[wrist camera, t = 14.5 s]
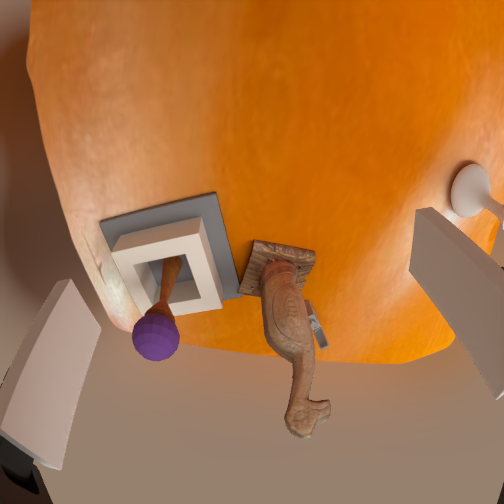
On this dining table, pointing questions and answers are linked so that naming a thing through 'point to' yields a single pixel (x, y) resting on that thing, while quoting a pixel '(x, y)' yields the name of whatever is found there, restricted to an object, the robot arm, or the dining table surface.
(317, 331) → the lighter
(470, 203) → the flower in vase
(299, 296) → the bird sculpture
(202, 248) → the socket
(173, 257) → the kendama
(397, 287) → the dining table surface
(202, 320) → the dining table surface
